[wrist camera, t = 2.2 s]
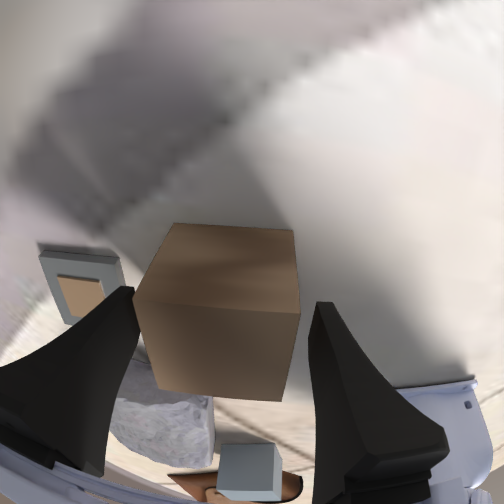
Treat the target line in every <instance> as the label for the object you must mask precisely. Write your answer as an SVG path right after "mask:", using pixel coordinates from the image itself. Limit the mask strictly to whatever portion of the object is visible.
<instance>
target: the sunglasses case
mask: <svg viewBox="0 0 504 504" xmlns="http://www.w3.org/2000/svg"><path fill="white" fill-rule="evenodd" d="M168 477H170V478H171V479H173V480H174V481H175V482H176V483H177V484H179V485H180V486H181V487H182V488H183V489H184V490H185V491H187V492H188V493H189V494H190V495H192V496H193V497H194V498H195V499H196V500H197V501H199V502H206V503H213V504H279V503H286V502H290V501H293V500H294V499H296V498H297V497H299V495H300V494H301V492H302V490H303V479H302V476H298V475H295V474H292V473H288V472H285V471H282V490H281V501H235V500H230V499H229V498H227V497H226V496H224V495H223V494H221V493H220V492H219V491H217V490H216V485H217V477H218V472H211V473H201V474H188V475H168Z"/></svg>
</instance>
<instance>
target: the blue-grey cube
mask: <svg viewBox="0 0 504 504" xmlns="http://www.w3.org/2000/svg"><path fill="white" fill-rule="evenodd" d="M216 490H217V491H219V492H220V493H221V494H223V495H224V496H226V497H227V498H229V499H230V500H235V501H281V490H282V458H281V456H280V454H279V452H278V449H277V447H276V445H275V443H267V444H222V446H221V454H220V462H219V469H218V477H217V485H216Z"/></svg>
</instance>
